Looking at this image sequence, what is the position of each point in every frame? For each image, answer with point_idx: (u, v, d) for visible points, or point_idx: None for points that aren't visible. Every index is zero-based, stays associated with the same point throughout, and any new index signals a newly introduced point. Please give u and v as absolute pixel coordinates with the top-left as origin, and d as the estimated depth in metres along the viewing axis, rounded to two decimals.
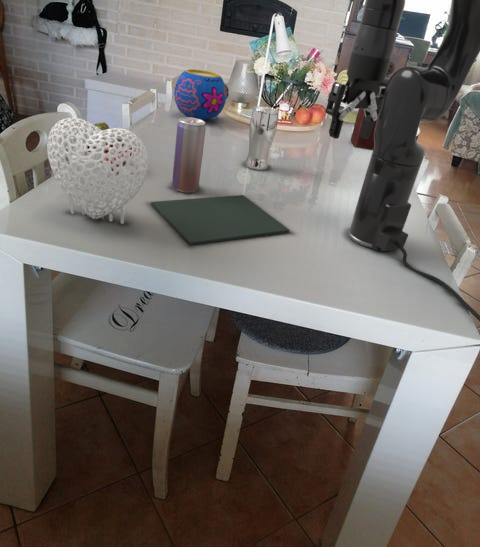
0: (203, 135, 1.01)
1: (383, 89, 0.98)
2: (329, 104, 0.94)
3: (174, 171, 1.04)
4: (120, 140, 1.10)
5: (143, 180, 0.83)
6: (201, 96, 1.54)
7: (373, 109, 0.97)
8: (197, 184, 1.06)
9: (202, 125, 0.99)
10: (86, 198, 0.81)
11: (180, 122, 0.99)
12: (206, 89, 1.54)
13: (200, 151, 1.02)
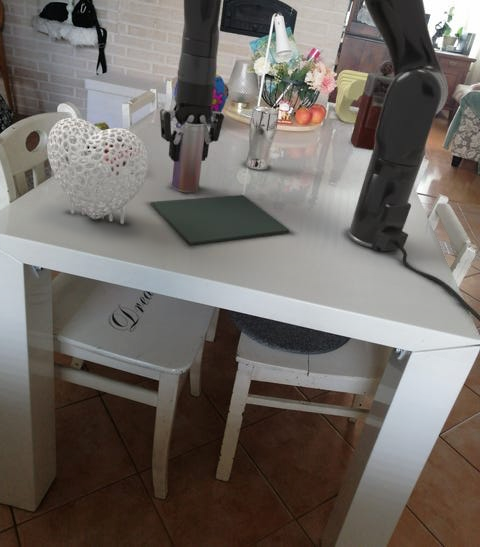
0: (203, 135, 1.01)
1: (217, 114, 1.02)
2: (162, 130, 0.99)
3: (174, 171, 1.04)
4: (120, 140, 1.10)
5: (143, 180, 0.83)
6: None
7: None
8: (197, 184, 1.06)
9: (202, 125, 0.99)
10: (86, 198, 0.81)
11: None
12: None
13: (200, 151, 1.02)
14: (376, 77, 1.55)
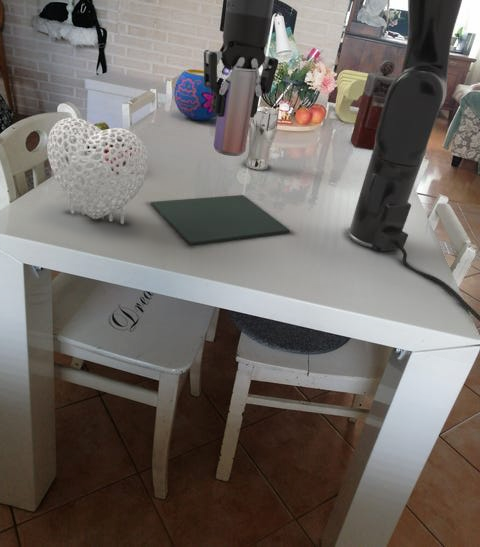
0: (254, 84, 0.83)
1: (270, 59, 0.85)
2: (206, 77, 0.81)
3: (217, 129, 0.87)
4: (120, 140, 1.10)
5: (143, 180, 0.83)
6: (201, 96, 1.54)
7: None
8: (244, 146, 0.89)
9: (254, 71, 0.82)
10: (86, 198, 0.81)
11: None
12: (206, 89, 1.54)
13: (250, 104, 0.84)
14: (376, 77, 1.55)
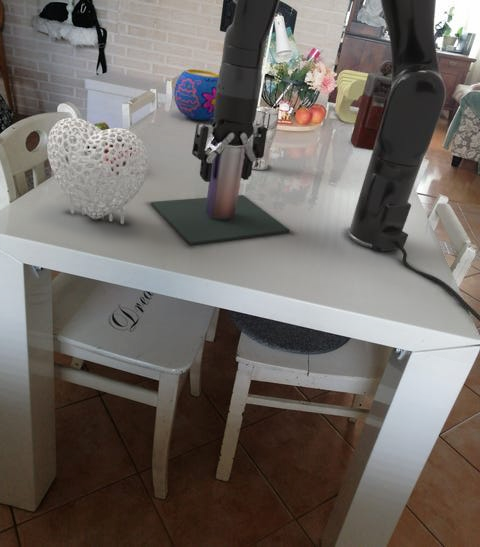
0: (243, 157, 0.89)
1: (259, 128, 0.90)
2: (195, 146, 0.86)
3: (209, 197, 0.93)
4: (120, 140, 1.10)
5: (143, 180, 0.83)
6: (201, 96, 1.54)
7: (247, 150, 0.90)
8: (234, 211, 0.95)
9: (242, 146, 0.88)
10: (86, 198, 0.81)
11: None
12: (206, 89, 1.54)
13: (239, 175, 0.91)
14: (376, 77, 1.55)
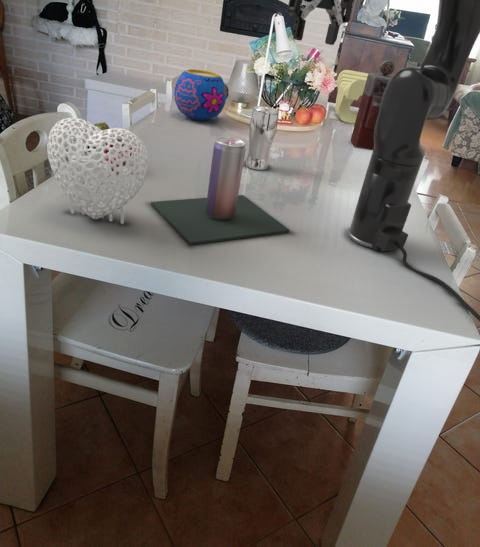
0: (243, 157, 0.89)
1: None
2: (291, 1, 0.92)
3: (209, 197, 0.93)
4: (120, 140, 1.10)
5: (143, 180, 0.83)
6: (201, 96, 1.54)
7: (337, 10, 0.95)
8: (234, 211, 0.95)
9: (242, 146, 0.88)
10: (86, 198, 0.81)
11: (218, 143, 0.88)
12: (206, 89, 1.54)
13: (239, 175, 0.91)
14: (376, 77, 1.55)
